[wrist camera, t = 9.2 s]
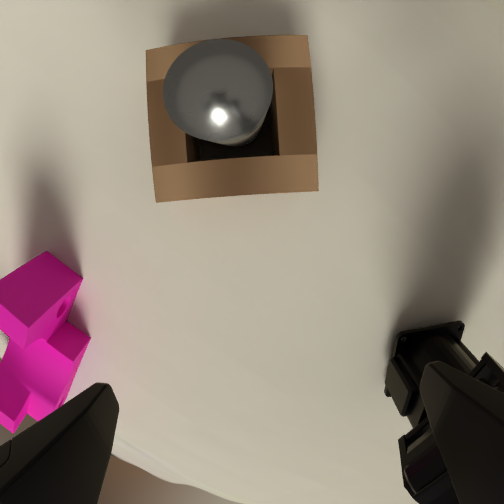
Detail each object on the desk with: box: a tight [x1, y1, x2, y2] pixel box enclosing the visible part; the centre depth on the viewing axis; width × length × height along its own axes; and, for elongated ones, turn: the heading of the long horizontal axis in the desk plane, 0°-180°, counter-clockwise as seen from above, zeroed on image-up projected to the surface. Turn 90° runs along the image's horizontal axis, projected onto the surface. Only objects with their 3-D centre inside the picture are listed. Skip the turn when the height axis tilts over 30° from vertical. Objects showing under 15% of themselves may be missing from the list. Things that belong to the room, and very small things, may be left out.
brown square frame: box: [146, 35, 319, 203], centre depth 16 cm, size 8×8×4 cm
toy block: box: [0, 251, 91, 433], centre depth 19 cm, size 15×6×8 cm, turn 145°
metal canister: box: [163, 39, 273, 147], centre depth 13 cm, size 3×3×10 cm
